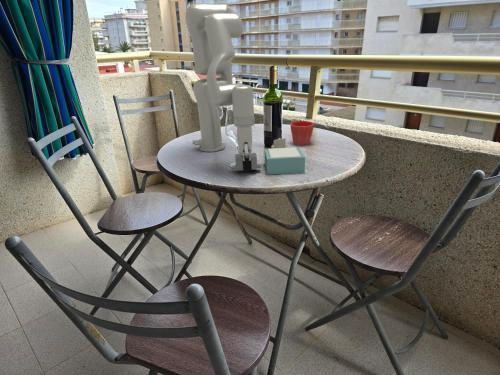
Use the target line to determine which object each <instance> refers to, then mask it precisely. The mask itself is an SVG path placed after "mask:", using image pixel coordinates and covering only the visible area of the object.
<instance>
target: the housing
mask: <svg viewBox="0 0 500 375" xmlns="http://www.w3.org/2000/svg"><path fill="white" fill-rule="evenodd" d="M244 155H245V154H244ZM248 155H249V154H248ZM257 156H258V155H257V153H256V152H251V153H250V158H251V165H252V170H258V169H262V164H261V163H259V164H258V157H257ZM234 158H235V159H234V160H235V162H234V163H235V165H231V171H236V172H237V171H243V152H242V153H241V154H240V153H236V154H235V153H234ZM244 159H245V158H244ZM252 170H251V171H252Z"/></svg>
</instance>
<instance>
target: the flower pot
mask: <svg viewBox="0 0 500 375" xmlns="http://www.w3.org/2000/svg"><path fill="white" fill-rule="evenodd" d="M289 125H290V132H291V137H292V143H293V144H294V145H295V144H296V145H295V146H300V145H303V146H307V145H310V143H311V138H312V135H313V131H314V126H315V124H314V122H312V121H307V120H296V121H295V120H294V121H292V122H290V124H289Z"/></svg>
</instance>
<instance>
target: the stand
mask: <svg viewBox="0 0 500 375" xmlns="http://www.w3.org/2000/svg"><path fill="white" fill-rule="evenodd" d="M263 153H264V154H263V155H264V166H265V169H266V174H267V175H281V174H283V175H284V174H300V173H302V174H303V173H306V172H305V171H306V156H305V155H304V153H303V151H302V150H301V148H300V147H286V148H275V149H272V148H265V149H264V151H263Z"/></svg>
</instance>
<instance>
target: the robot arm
mask: <svg viewBox="0 0 500 375" xmlns="http://www.w3.org/2000/svg"><path fill="white" fill-rule="evenodd" d="M185 24H186V28H187V31H188V34H189V36H190V39H191V43H192V45H191V46H192V53H193V62H194V63H193V64H194V69H195V71H196V73H197V74H198V75H199V76H206V78H200V79H198V80H196V81H195V82H194V83H193V93H194V96H195V100H196V105H197V111H198V119H199V120H198V121H199V130H200V137H201V138H200V139H196V140H193V139H192V145H194V146H198V149H199V151H201V152H206V153H208V152H209V153H210V152H211V153H212V152H213V153H214V152H219V151H223V150H224V149H225V148H226V144H225V143H224V142H223V141H222V140H223V139H222V138H223V137H222V127H221V117H220V116H221V114H220V109H219V107H227V106H228V107H229V106H232V114H233V126H234V127H235V128H236V133H237V146H238V154H241V153H242V152H243V170H242V171H243V172H250V171H252V165H251V158H250V153H253V133H252V132H253V131H252V130H253V128H252V126H255V107H254V106H255V104H254V90H253V89H254V88H253V86H251V85H249V84H244V83H240V82H239V83H238V82H236V83H233V71H232V70H233V69H232V67H233V66H232V60H233V59H234V58H235V57H236V53H235V48H234V44H233V41H232V40H233V39H237V38H240V37H241V36H242V35H243V32H244V23H243V19H242V18H241V16H240V15H239V13H238V12H237V11H235V10H234V9H233V8H232V7H230V6H229V5H228V4H224V3H193V4H190V5H188V6H187V8H186V11H185ZM217 75H219V77H217ZM244 154H245V155H244ZM248 154H249V155H248ZM244 158H245V159H244Z"/></svg>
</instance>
